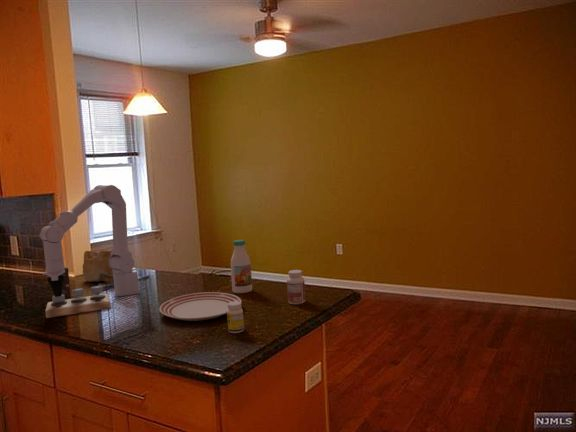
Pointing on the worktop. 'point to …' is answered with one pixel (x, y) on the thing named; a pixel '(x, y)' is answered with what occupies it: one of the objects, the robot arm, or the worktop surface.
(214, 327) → the worktop surface
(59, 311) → the button board
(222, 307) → the dinner plate
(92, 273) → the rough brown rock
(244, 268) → the milk bottle
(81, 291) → the button middle
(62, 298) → the button
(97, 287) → the button
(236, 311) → the supplement bottle
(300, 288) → the pill bottle
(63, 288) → the box
